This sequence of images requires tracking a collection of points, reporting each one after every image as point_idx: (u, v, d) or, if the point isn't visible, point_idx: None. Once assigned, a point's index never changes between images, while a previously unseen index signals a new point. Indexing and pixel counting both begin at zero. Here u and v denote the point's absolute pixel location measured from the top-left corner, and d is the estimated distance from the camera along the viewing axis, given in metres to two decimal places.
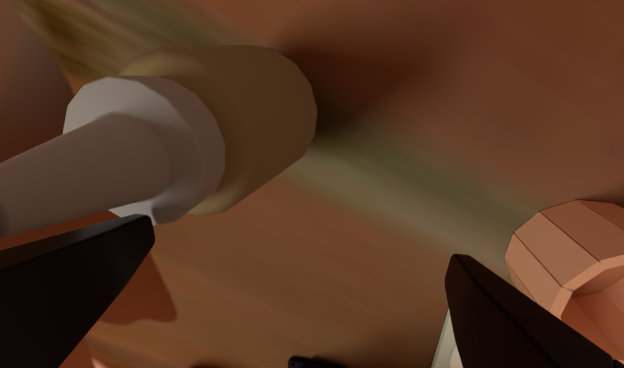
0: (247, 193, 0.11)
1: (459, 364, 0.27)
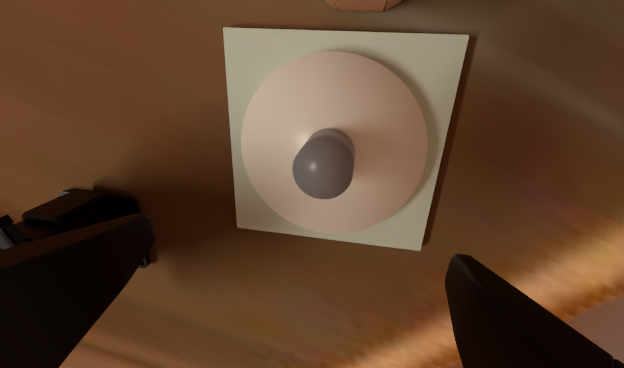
0: None
1: (252, 154, 0.18)
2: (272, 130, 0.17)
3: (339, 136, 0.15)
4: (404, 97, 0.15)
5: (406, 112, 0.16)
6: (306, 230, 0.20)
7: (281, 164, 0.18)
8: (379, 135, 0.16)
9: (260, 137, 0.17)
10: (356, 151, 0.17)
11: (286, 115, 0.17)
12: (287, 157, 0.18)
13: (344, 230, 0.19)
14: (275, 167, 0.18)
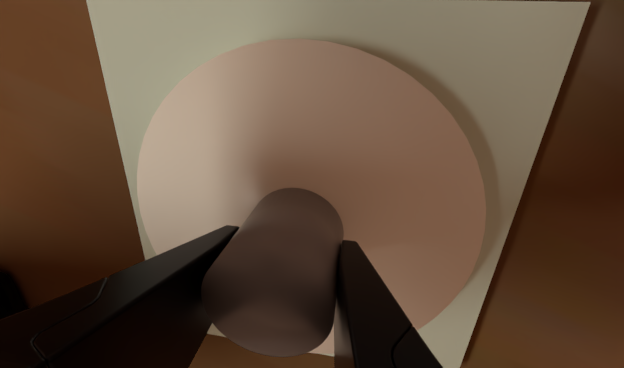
0: None
1: (161, 227, 0.10)
2: (190, 188, 0.09)
3: (308, 215, 0.07)
4: (441, 134, 0.07)
5: (445, 164, 0.08)
6: None
7: None
8: (389, 203, 0.08)
9: (171, 199, 0.10)
10: (346, 229, 0.09)
11: (212, 163, 0.09)
12: None
13: (328, 349, 0.11)
14: None
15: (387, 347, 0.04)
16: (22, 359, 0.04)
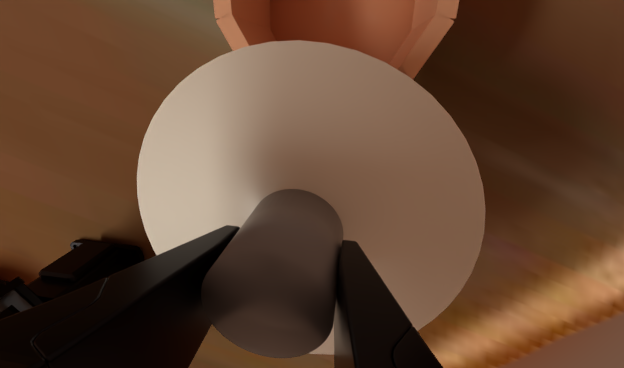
0: None
1: (161, 228, 0.10)
2: (190, 189, 0.09)
3: (308, 216, 0.07)
4: (441, 135, 0.07)
5: (444, 164, 0.08)
6: None
7: None
8: (389, 204, 0.08)
9: (171, 201, 0.10)
10: (345, 230, 0.09)
11: (212, 164, 0.09)
12: None
13: (328, 350, 0.11)
14: None
15: (387, 347, 0.04)
16: (22, 359, 0.04)
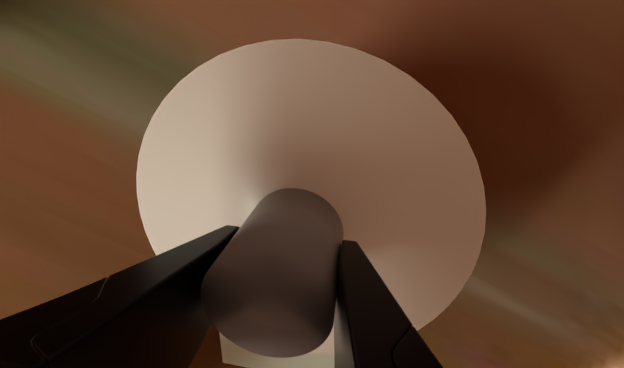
0: None
1: (161, 227, 0.10)
2: (190, 188, 0.09)
3: (308, 215, 0.07)
4: (441, 134, 0.07)
5: (445, 164, 0.08)
6: None
7: None
8: (389, 204, 0.08)
9: (171, 200, 0.10)
10: (346, 230, 0.09)
11: (212, 163, 0.09)
12: None
13: (328, 350, 0.11)
14: None
15: (387, 347, 0.04)
16: (21, 359, 0.04)
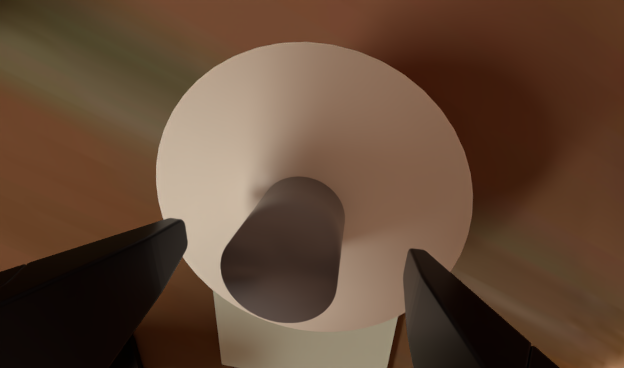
0: None
1: (177, 214, 0.11)
2: (205, 178, 0.10)
3: (314, 199, 0.08)
4: (432, 126, 0.08)
5: (436, 153, 0.09)
6: None
7: (225, 230, 0.11)
8: (386, 190, 0.09)
9: (187, 188, 0.10)
10: (347, 214, 0.10)
11: (226, 154, 0.10)
12: (234, 219, 0.11)
13: (330, 328, 0.12)
14: (216, 234, 0.11)
15: None
16: None
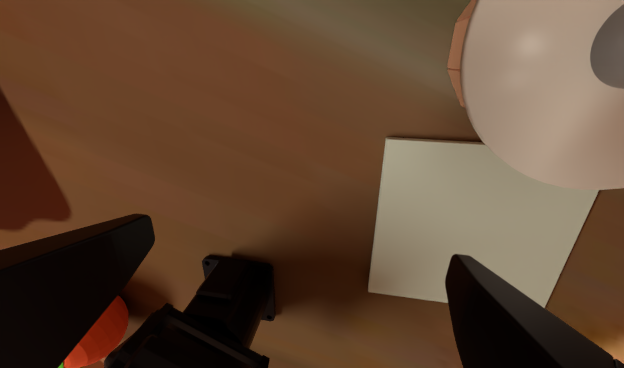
0: None
1: (486, 57, 0.11)
2: (539, 5, 0.10)
3: None
4: None
5: None
6: (434, 296, 0.23)
7: (538, 71, 0.11)
8: None
9: (511, 22, 0.10)
10: None
11: None
12: (555, 56, 0.10)
13: (621, 183, 0.12)
14: (525, 78, 0.11)
15: None
16: None
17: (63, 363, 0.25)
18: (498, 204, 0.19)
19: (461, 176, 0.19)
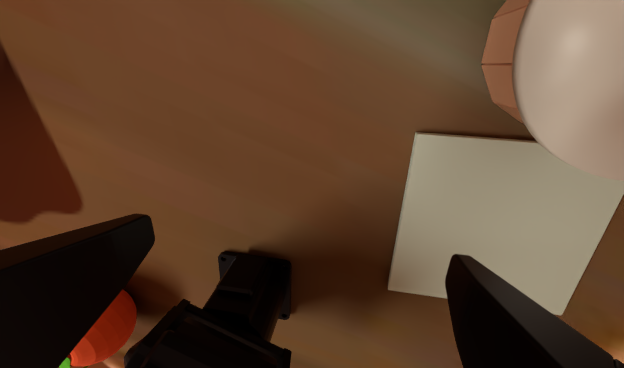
0: None
1: (544, 45, 0.11)
2: None
3: None
4: None
5: None
6: None
7: (595, 61, 0.11)
8: None
9: (572, 11, 0.10)
10: None
11: None
12: (613, 46, 0.10)
13: None
14: (581, 68, 0.11)
15: None
16: None
17: (70, 361, 0.24)
18: (525, 201, 0.19)
19: (490, 173, 0.19)
